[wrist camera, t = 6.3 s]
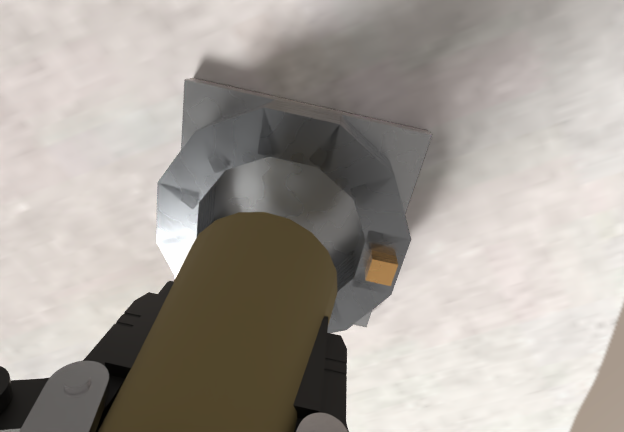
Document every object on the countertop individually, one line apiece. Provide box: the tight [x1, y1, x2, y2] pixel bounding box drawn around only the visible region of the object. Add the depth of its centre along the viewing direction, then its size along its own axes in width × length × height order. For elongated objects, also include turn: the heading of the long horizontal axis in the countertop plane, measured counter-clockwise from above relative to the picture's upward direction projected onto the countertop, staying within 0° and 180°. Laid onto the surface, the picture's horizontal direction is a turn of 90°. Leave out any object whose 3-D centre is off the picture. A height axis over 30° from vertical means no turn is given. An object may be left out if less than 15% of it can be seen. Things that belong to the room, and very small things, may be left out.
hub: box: [156, 78, 432, 333], centre depth 19 cm, size 12×12×4 cm
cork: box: [98, 212, 337, 432], centre depth 10 cm, size 6×6×11 cm
